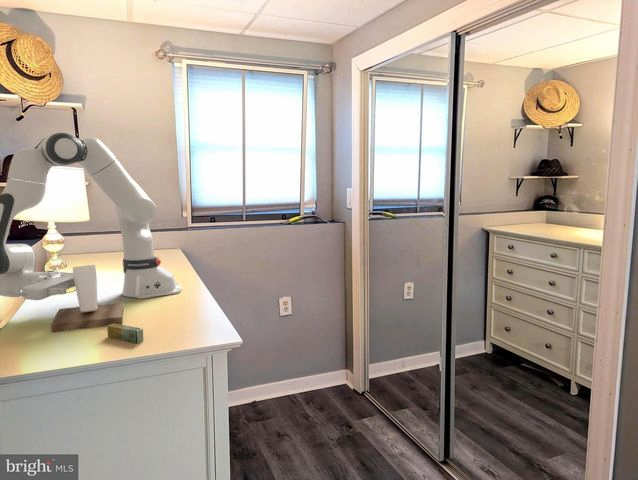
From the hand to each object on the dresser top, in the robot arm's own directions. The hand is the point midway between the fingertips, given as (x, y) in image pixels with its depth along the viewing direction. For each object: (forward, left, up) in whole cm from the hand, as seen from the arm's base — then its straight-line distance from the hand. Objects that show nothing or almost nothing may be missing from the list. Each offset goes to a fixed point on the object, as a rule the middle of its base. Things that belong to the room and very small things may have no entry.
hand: (74, 287), depth 153 cm
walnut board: (-4, +2, -11) cm, 12 cm away
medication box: (-15, +24, -11) cm, 30 cm away
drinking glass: (-4, +3, -8) cm, 9 cm away
